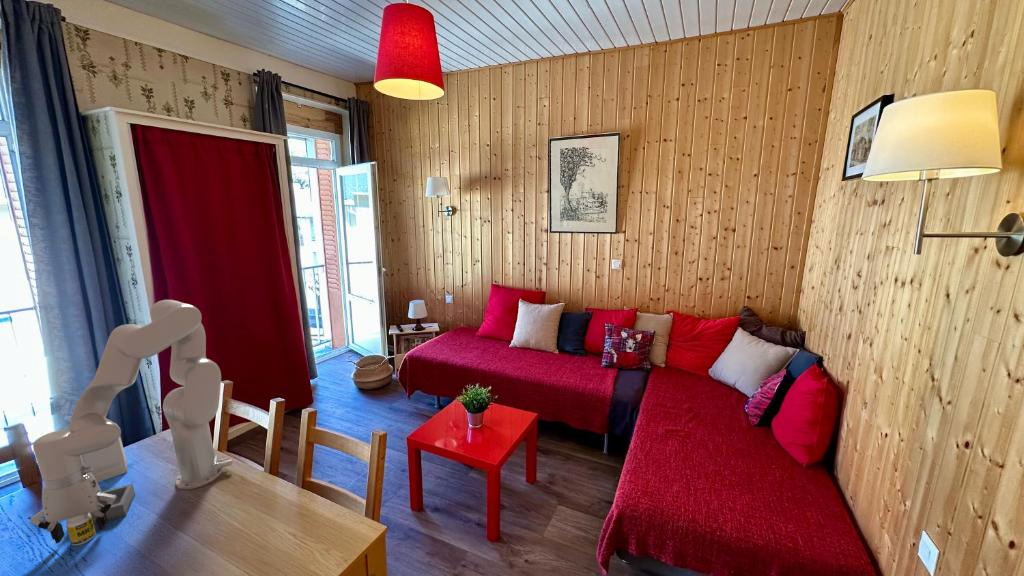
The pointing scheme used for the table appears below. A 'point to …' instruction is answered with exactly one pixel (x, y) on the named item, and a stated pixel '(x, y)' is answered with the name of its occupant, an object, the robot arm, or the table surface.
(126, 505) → the bin
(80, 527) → the supplement bottle
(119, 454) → the supplement box
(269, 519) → the table surface
